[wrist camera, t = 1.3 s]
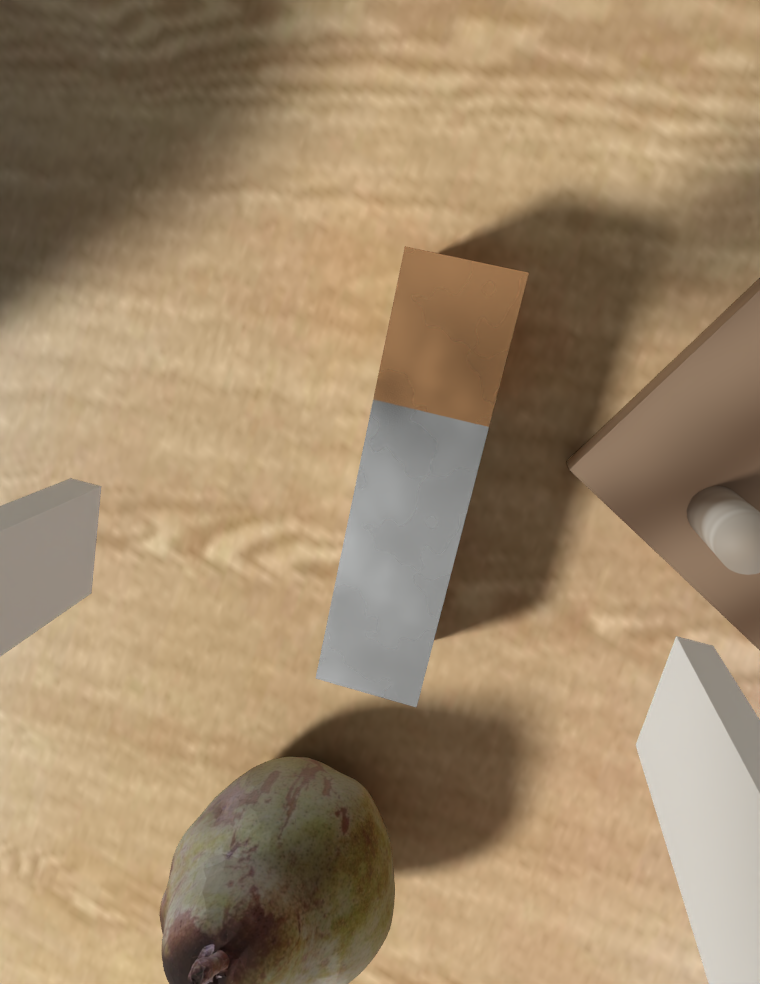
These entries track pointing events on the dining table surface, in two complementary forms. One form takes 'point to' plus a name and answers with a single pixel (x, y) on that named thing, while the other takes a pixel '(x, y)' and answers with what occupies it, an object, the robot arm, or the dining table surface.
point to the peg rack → (694, 464)
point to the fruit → (280, 881)
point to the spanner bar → (418, 469)
